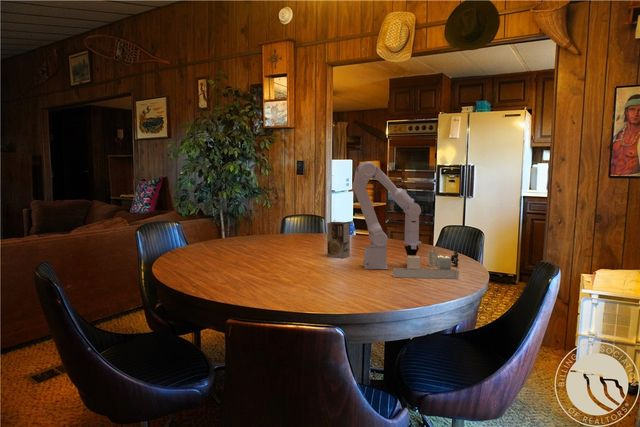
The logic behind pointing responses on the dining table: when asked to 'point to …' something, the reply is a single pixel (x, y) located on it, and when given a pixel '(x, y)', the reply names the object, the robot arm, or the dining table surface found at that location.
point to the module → (413, 261)
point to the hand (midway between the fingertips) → (411, 263)
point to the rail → (429, 271)
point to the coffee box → (338, 239)
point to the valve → (434, 258)
